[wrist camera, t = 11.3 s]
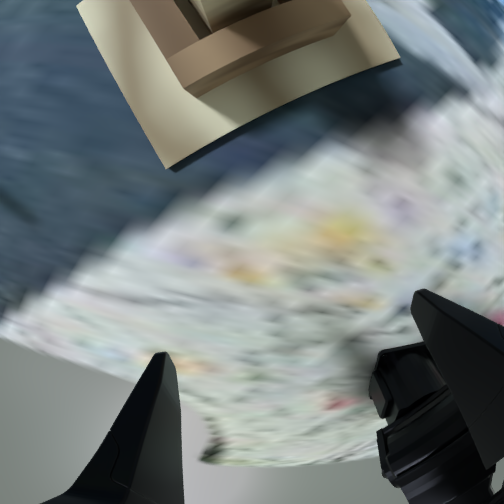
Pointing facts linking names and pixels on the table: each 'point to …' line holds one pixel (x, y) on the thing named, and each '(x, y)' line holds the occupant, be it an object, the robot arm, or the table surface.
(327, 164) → the table surface
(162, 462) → the robot arm
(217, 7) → the peg
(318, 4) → the socket
